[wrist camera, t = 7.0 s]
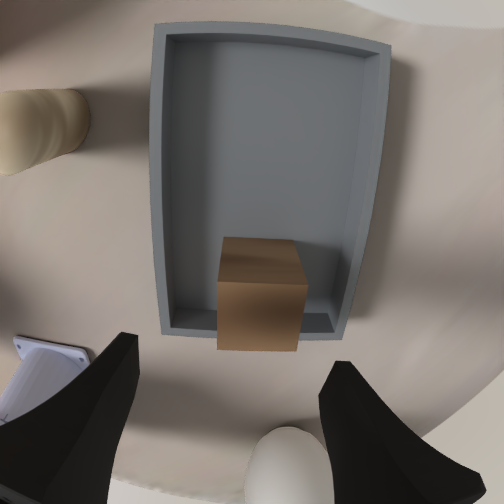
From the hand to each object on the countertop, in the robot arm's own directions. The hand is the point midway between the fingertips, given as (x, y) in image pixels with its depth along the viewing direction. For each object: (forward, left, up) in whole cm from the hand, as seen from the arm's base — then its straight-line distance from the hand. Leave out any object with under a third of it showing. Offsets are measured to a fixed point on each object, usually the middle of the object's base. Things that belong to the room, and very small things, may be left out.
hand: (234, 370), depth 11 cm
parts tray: (+4, -1, -9) cm, 10 cm away
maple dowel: (+8, +11, -9) cm, 17 cm away
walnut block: (-1, -1, -9) cm, 9 cm away
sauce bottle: (-19, -5, -10) cm, 22 cm away
